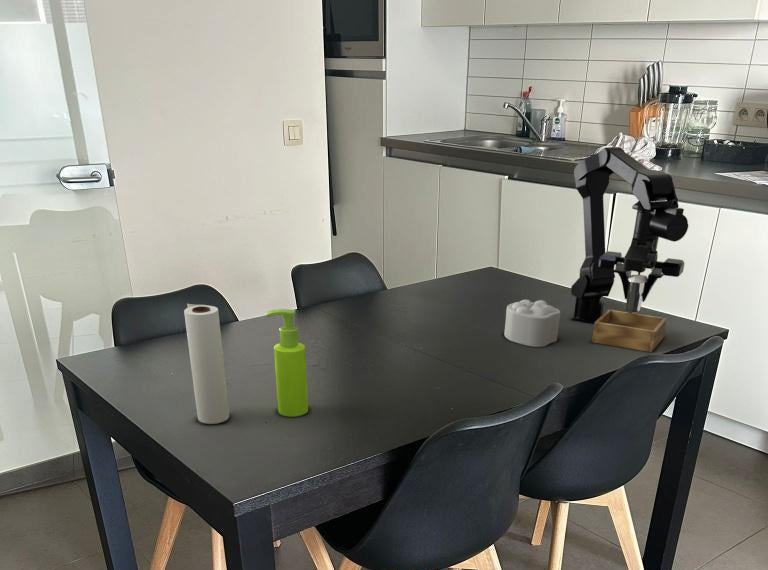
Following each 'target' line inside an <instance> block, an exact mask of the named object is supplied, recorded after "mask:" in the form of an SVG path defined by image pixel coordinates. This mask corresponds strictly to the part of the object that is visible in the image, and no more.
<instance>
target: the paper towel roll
mask: <svg viewBox="0 0 768 570" xmlns="http://www.w3.org/2000/svg"><path fill="white" fill-rule="evenodd" d="M186 305H187V307H186V308H185V309H183V314H184V322H185V329H186V330H185V331H186V335H187V345H188V353H189V359H190V368H191V376H192V383H193V391H194V398H195V406H196V408H195V409H196V414H197V415H196V416H197V420H198V421H199V422H200V423H202V424H208V425H214V424H221V423H224V422H226V421H227V420H228V419H230V409H229V400H228V399H229V398H228V391H227V390H228V389H227V380H226V370H225V361H224V351H223V342H222V331H221V325H220V324H221V323H220V313H219V308H218V307H217V306H214V305H208V304H191V303H186Z"/></svg>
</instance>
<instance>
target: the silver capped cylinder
mask: <svg viewBox="0 0 768 570" xmlns="http://www.w3.org/2000/svg"><path fill="white" fill-rule="evenodd" d="M647 281H648V275H644V274H641V273H639V272H637V274H631V276H630V277H629V278H628V288H627V299H626V302H625V312H626V313H627V314H631V315H637V314H640V311H641V308H642V307H641V306H642V303H643V302H642V300H643V294H644V291H645V288H646V284H647Z"/></svg>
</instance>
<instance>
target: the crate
mask: <svg viewBox="0 0 768 570" xmlns="http://www.w3.org/2000/svg"><path fill="white" fill-rule="evenodd" d="M667 321H668V318H667V317H662V316H656V315H648V314H641V313H639V314H637V315H631V314H627V313H626V311H622V310H617V309H616V310H615V309H607V310H606V311H605V312H604V313H602V316H601V317H600V318H599V319H598V320H597V321H596V322H595V323H593V330H592V337H591V343H594V344H600V345H606V346H613V347H619V348H623V349H630V350H636V351H641V352H647V353H648V352H649V353H653V351H654V350H655V349H656V348H657V346H659V344H660V343H661V341H662V340H663V339H664V335H665V330H666V326H667Z"/></svg>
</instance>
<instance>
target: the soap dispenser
mask: <svg viewBox="0 0 768 570" xmlns="http://www.w3.org/2000/svg"><path fill="white" fill-rule="evenodd" d="M265 316H266V317H267V318H269V317H275V316H282V319H283V326H281V327H280V328H279V343H277V344H275V345H274V346H273V354H274V368H275V370H274V371H275V383H276V396H277V398H276V399H277V400H276V401H277V412H278V414H279V415H281V416H284V417H290V418H291V417H293V418H294V417H301V416H303V415H305V414H307V413H308V412H309V401H308V398H309V397H308V379H307V377H308V376H307V358H306V357H307V354H306V345H305V344H304V343H301V342H299V329H298V327H297V326H295V325H294V321H293V320H294V319H293V317H296V309H287V308H285V309H284V308H278V309H272V310H268V311H266V312H265Z"/></svg>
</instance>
